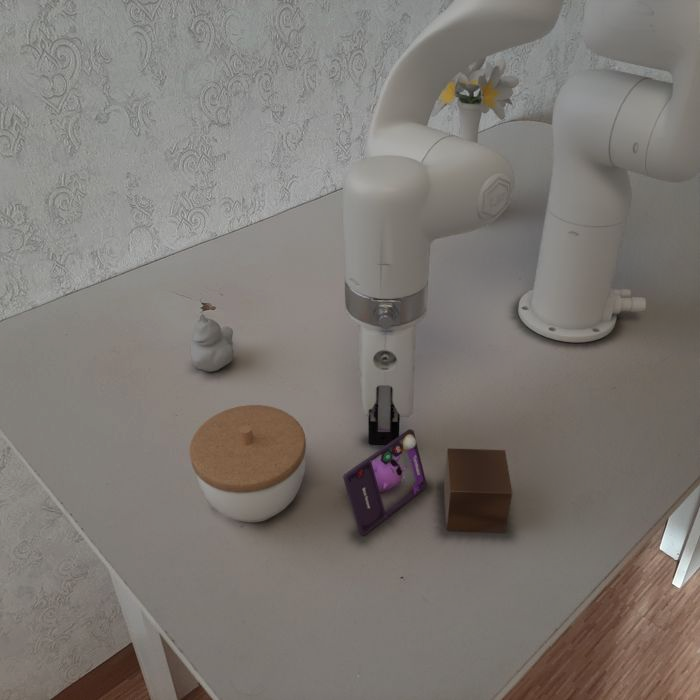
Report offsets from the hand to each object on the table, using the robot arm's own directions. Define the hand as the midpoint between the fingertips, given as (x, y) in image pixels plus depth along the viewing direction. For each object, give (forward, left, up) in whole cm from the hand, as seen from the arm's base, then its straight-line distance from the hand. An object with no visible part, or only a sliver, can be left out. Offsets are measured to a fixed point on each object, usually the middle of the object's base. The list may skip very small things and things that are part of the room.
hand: (383, 440), depth 76 cm
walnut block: (-9, +8, -1) cm, 12 cm away
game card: (0, +7, -1) cm, 7 cm away
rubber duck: (+21, -14, -1) cm, 25 cm away
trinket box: (+13, +8, -1) cm, 15 cm away
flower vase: (-12, -57, -1) cm, 58 cm away
